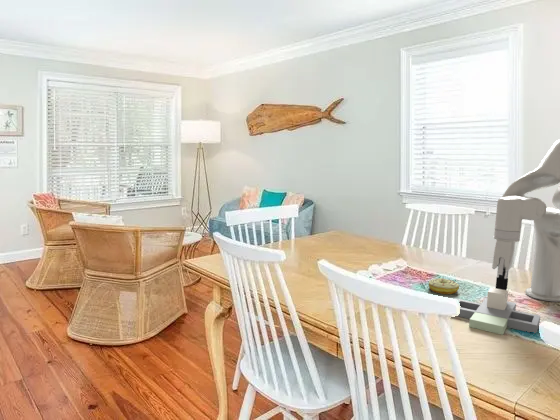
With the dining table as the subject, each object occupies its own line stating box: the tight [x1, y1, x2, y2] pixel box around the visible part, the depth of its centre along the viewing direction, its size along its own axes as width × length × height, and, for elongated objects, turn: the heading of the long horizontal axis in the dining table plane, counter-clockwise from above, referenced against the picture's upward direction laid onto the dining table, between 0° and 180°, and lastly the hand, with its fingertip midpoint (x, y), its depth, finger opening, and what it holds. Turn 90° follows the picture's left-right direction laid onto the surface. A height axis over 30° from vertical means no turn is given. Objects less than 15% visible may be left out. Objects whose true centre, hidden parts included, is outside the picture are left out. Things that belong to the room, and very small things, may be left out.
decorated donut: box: [428, 277, 460, 295], centre depth 159 cm, size 10×11×4 cm
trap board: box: [456, 296, 541, 336], centre depth 134 cm, size 23×24×2 cm
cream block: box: [486, 287, 509, 310], centre depth 137 cm, size 5×5×5 cm
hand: (501, 289), depth 143 cm, fingers closed
